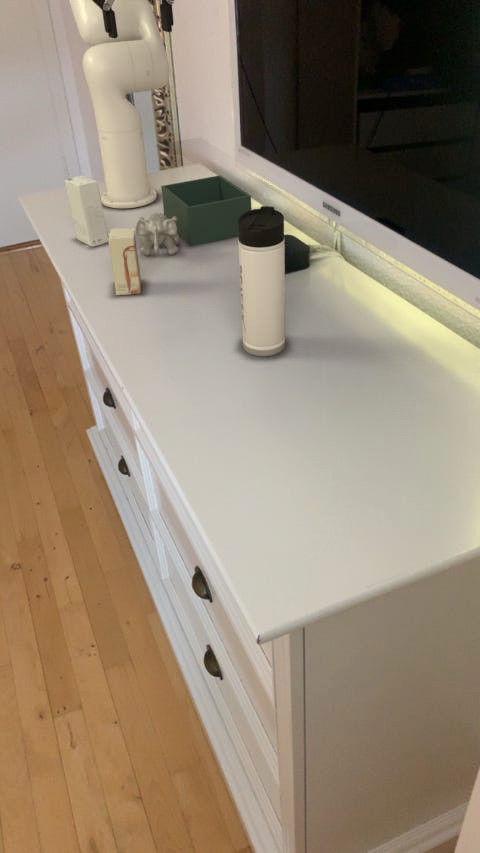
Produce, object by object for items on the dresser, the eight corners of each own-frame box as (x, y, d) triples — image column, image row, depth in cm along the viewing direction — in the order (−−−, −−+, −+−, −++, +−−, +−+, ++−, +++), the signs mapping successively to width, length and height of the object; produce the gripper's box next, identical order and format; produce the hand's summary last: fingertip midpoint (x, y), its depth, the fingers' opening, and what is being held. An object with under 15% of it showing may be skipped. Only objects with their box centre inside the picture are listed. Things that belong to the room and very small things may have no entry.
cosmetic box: (110, 242, 140) (100, 180, 132) (90, 248, 138) (79, 186, 130) (94, 233, 144) (84, 173, 136) (75, 239, 141) (63, 179, 134)
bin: (164, 221, 148) (161, 185, 143) (222, 210, 152) (220, 175, 147) (191, 246, 136) (187, 208, 132) (252, 233, 140) (251, 195, 136)
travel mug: (290, 337, 106) (290, 207, 94) (278, 359, 101) (276, 225, 89) (251, 332, 108) (246, 203, 96) (237, 354, 103) (230, 221, 91)
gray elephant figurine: (176, 240, 139) (172, 201, 134) (195, 262, 130) (192, 222, 125) (131, 248, 137) (125, 209, 132) (147, 271, 128) (142, 231, 123)
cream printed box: (141, 294, 120) (133, 237, 114) (115, 296, 120) (106, 239, 114) (142, 281, 124) (135, 226, 118) (117, 283, 124) (109, 228, 118)
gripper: (169, -92, 115) (179, 27, 125) (65, -87, 109) (85, 37, 119) (186, -95, 109) (195, 31, 119) (77, -89, 103) (97, 42, 113)
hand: (140, 34), depth 119 cm, fingers open, 9 cm apart
